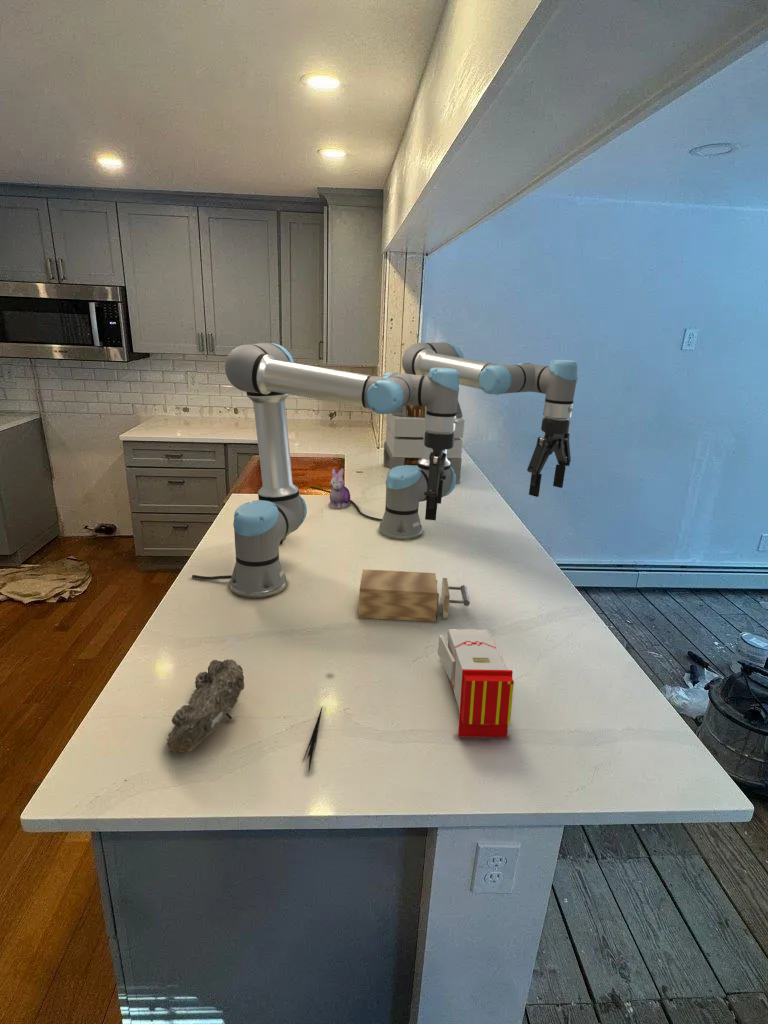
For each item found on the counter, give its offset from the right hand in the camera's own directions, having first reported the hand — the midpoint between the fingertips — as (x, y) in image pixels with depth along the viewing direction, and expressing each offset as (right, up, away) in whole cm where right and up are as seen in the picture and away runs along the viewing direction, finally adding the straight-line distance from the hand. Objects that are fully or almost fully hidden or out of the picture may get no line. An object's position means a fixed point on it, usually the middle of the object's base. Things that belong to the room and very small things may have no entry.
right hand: (545, 491), depth 164 cm
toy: (-29, -44, -45) cm, 69 cm away
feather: (-59, -46, -55) cm, 93 cm away
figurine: (-65, -3, +61) cm, 89 cm away
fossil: (-80, -45, -56) cm, 107 cm away
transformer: (-30, +13, +111) cm, 116 cm away
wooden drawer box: (-43, -32, -14) cm, 55 cm away
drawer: (-37, -31, -14) cm, 50 cm away
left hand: (-34, -6, -14) cm, 37 cm away
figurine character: (-82, -15, +27) cm, 88 cm away
